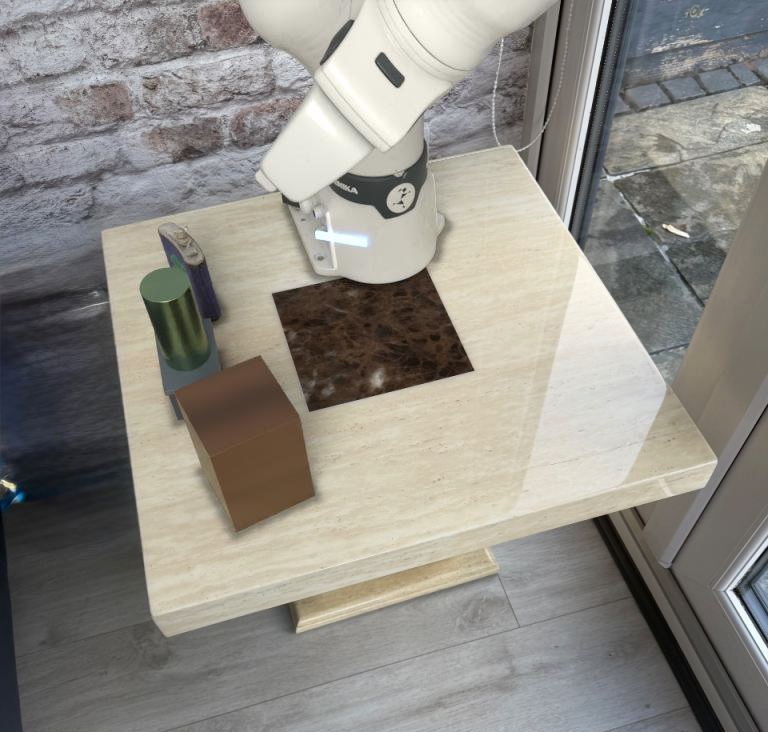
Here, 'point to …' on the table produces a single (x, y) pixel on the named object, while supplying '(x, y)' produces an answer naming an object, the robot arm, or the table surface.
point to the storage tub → (182, 378)
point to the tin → (175, 318)
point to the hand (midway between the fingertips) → (289, 143)
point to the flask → (190, 267)
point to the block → (247, 441)
